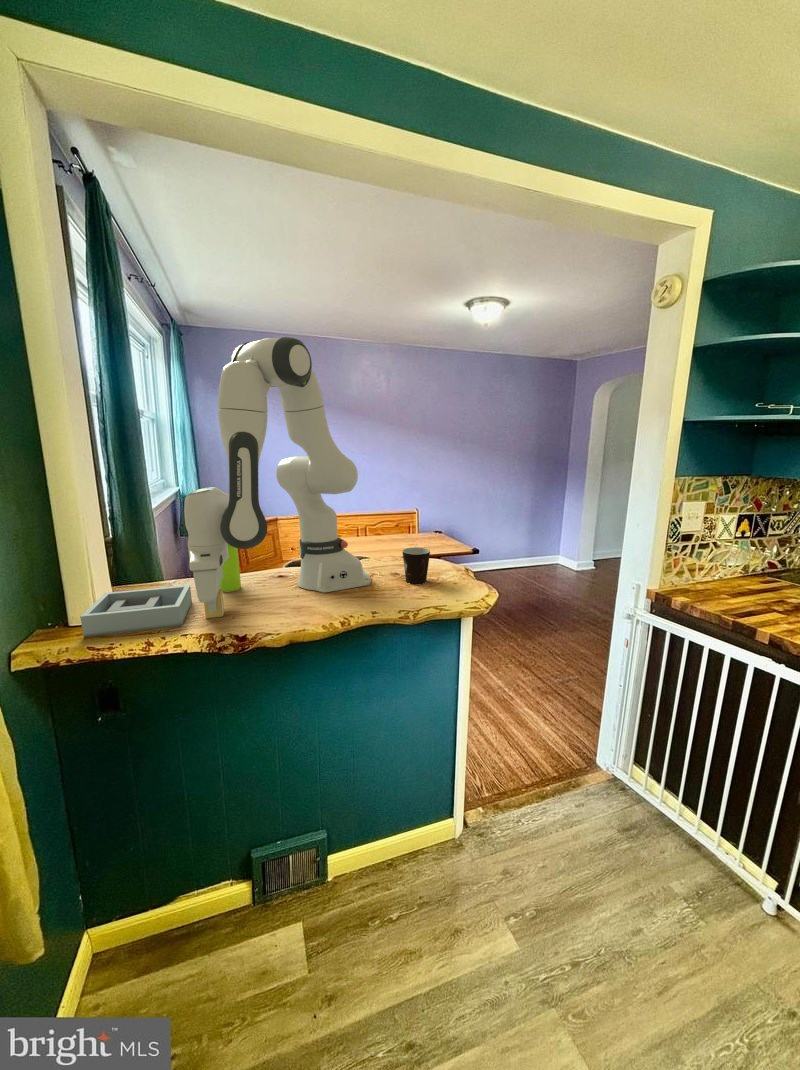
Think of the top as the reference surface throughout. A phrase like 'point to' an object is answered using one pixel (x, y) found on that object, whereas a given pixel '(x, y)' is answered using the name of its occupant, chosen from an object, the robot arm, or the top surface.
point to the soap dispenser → (231, 571)
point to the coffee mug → (416, 564)
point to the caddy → (137, 610)
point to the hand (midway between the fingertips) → (214, 606)
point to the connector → (220, 607)
